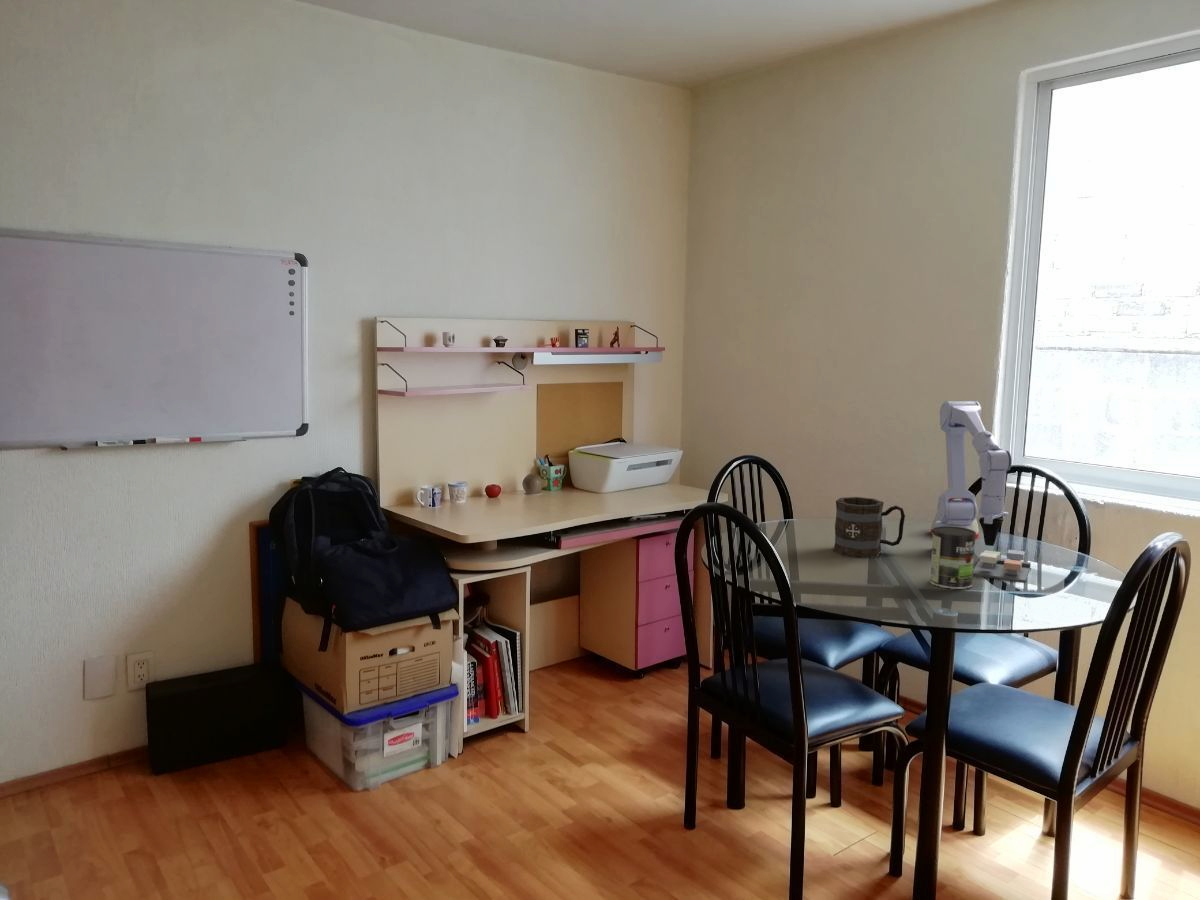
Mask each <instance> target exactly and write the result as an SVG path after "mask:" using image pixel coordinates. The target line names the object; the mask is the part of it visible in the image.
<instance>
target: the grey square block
mask: <svg viewBox="0 0 1200 900" xmlns="http://www.w3.org/2000/svg"><path fill="white" fill-rule="evenodd" d="M1006 553H1007V554H1006V559H1009V560H1017V561H1022V562H1024V560H1025V555H1026V551H1024V550H1016V549H1015V550H1014V549H1008V550H1007V552H1006Z"/></svg>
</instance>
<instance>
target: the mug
mask: <svg viewBox="0 0 1200 900" xmlns="http://www.w3.org/2000/svg"><path fill="white" fill-rule="evenodd" d="M835 505H836V510H835V511H836V513H835V515H836V516H835V521H834V522H835V523H834V533H835V534H834V547H833V552H835V553H837V554H838V555H841V556H844V557H850V558H856V559H857V558H859V559H865V558H867V557H868V558H872V557H871V556H877V555H878V554H879V552H880V551H881V552H882V548H881V544H883V545H888V546H891V547H894V546H898V545H900V542H901V541H902V539H903V535H904V523H905V518H906V514H905V511H904V509H903V507H900V506H898V505H894V506H890V507H889V508H888V509H886V510H885V511H883V509H884V501H881V500H878V499H877V498H870V497H863V496H862V497H861V496H849V497H848V496H847V497H846V496H845V497H840V498H839V497H838V499H837V500H835ZM896 510H898V511H900V519H899V523H898V524H899V525H898V536H897V537H896V538H897V539H896V540H895V541H890V540H887V539H882V533H883V517H885V516H888V515H890V514H891V513H892V512H893V511H896ZM879 555H880V554H879ZM879 555H878V556H879ZM878 556H877V557H878ZM868 558H867V559H868Z"/></svg>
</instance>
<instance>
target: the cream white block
mask: <svg viewBox="0 0 1200 900" xmlns="http://www.w3.org/2000/svg"><path fill="white" fill-rule="evenodd" d="M983 553H990V554H998V559H997V561H999V559H1001V551H995V550H984V551H983ZM995 565H996V564H994V566H995Z"/></svg>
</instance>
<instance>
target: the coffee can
mask: <svg viewBox="0 0 1200 900" xmlns="http://www.w3.org/2000/svg"><path fill="white" fill-rule="evenodd" d="M975 536H976V532H975V531H973V530H970V529H967V528H961V527H952V526H941V527H935V528H933V535H932V543H931V546H932V548H931V560H930V561H931V564H930V577H929V578H930V580H929V583H930V582H931V583H932V584H935V585H937V586H940V587H939V588H941V587H945V588H952V589H951V590H953V589H963V590H968V589H967V588H969V589H971V588H972V587H973V576H974V575H973V570H974V560H975V557H974V555H975V544H976V539H975ZM931 583H930V584H931ZM932 584H931V585H932ZM937 586H936V587H937ZM970 587H971V588H970ZM945 588H944V589H945Z"/></svg>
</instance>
